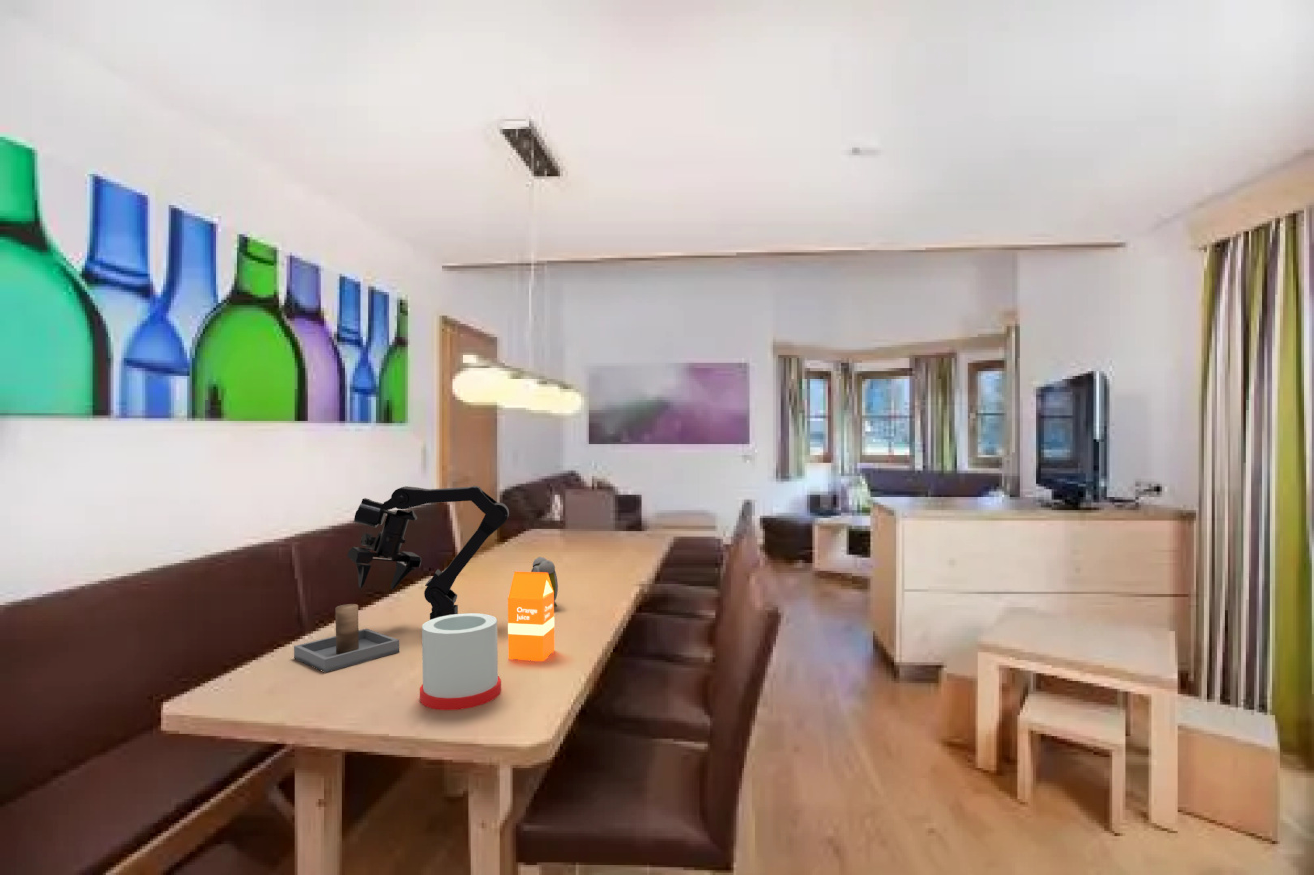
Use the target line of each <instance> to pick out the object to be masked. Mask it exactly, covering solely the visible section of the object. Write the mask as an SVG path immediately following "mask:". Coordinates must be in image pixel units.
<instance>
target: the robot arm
mask: <svg viewBox="0 0 1314 875" xmlns="http://www.w3.org/2000/svg"><path fill="white" fill-rule="evenodd" d="M470 501H471V503H473V504H474V505H475V506H476V507H477V508H478V509H479V511H481V512H482V513H483V514H484V516H483V518H482V520H481V522H480V524H479V526H478V527H477V529H476V531H474V533H473V534H472V536H471V537H470V538H469V539H468V541H467V542H466V543H465V545H464V546H463V547H462V548H461V549H460V551H459V552H458V553H457V554H456V555H455V557H454V558H453V560H452V561H451V562H450V563H449V565H448V566H447V567H446V568H445V569H443V571H441V570H440V569H439V568H438V569H437V570H436V571H435V573H433V576H432V577H431V578H429V579H428V581H427V582H426V583H425V589H424V591H423V595H424V596H423V597H424V598H425V600H426V602H427V603H428V604H430V606H431V612H430V613H429V620H431V619H435V618H438V617H442V616H447V615H454V614H459V610H458V609H459V605H458V604H455V603H456V601H457V599H458V594H457V593H456V592H454V591H453V590H452V589H451V588H452V587H453V585H454V583H455V581H456V579H457V578H458V576H459V574H460V573H461V572H462V570H463V569H464V568H465V567H466V566H467V564H468V563H469V562H470V561H471V559H472V558H474V556H475V554H476V553H477V552H478V550H479V549H480V548H481V547H482V546H483V544H484V543H485V541H486V540H487V539H488V538H489V537H490V536H491V535H492V534H493V533H495V532H496V531H497V530H498V529H499V528H500V527H502V526H503V525H504V524H505V523H506V521H508V518H509V516H510V511H509V507H508V506H507V505H506V504H505V503H503V502H498V501H497V500H496V499H495V498H493V497H492V496H491V495H489V494H487V493H486V492H485V491H484V490H483V489H482V488H481V487H480V486H478V485H472V486H466V487H465V486H464V487H463V486H462V487H460V486H459V487H447V488H445V487H444V488H443V487H442V488H422V487H415V486H402V487H399V488H396V489H395V490H393V492H392V493H391V496H390V498H389V499H388V500H386V501H383V503H381V502H378V501H374V500H372V499H370V498H366V497H364V498H362V500H361V503H360V504H359V506H358V507H357V510H356V511H355V515H354V518H353V522H354V523H356V524H359V525H363V526H368V527H372V528H377V527H378V526H379V525H380V526H382V525H383V523H384V525H383V527H382V531H379V532H378V533H377V536H376V537H375V536H373V534H372V533H368V532H367V533H363V534H362V536H361V539H360V545H361V546H365V547H359V546H357V547H356V546H352V547H351V548H349V550H348V552H347V556H346V557H347V558H349V559H350V560H351V561H352V562H353V563H355V565H356V569H357V579H358V581H357V582H358V587H359V588H360V589H362V588H364V586H365V582H366V581H367V577H368V575H369V573H370V570H371V568H372V564H370V563H372V562H373V561H385V562H386V561H387V562H395V571H394V574H393V578H392V580H391V585H390V589H391V590H395V588H396V587H397V586H399V584H400V583H401V582H402V581H403V580H404V579H405V577H406V576H407V575H409V574H410V572H411V571H415V570H416V568H421V564H422V558H421V556H419V555H418V554H416V553H414V552H412V551H405V550H404V551H400V550H401V546H402V545H403V544H405V543H406V539H405V538H404V537H405V534H406V530H407V527H408V524H409V521H413V522H414V521H416V520H417V519H418V516H417V515H416V513H415V510H414V509H412V508H415V507H419V506H423V505H427V504H436V503H437V504H440V503H441V504H442V503H455V502H456V503H457V502H470ZM410 508H411V510H410V511H405V510H407V509H410ZM393 509H397V511H393ZM370 550H371V551H370ZM372 551H373V552H372Z"/></svg>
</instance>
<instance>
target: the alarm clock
mask: <svg viewBox="0 0 1314 875" xmlns="http://www.w3.org/2000/svg"><path fill="white" fill-rule="evenodd" d="M532 562H533V563H532V568H531V571H530V572H544V573H548V575H549V578H550V582H551V585H552V588H553V591H554V607H557V606H558V605H557V604H558V603H556V599H557V596H558V593H559V592H558V590H559V588H558V587H559V584H558V575H557V572H556V567H555V564H554V563H553V561H551V560H548V559H547V558H545V557H541V556H538V557H537V558H535V559H534V560H533V561H532Z"/></svg>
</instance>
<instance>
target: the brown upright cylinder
mask: <svg viewBox="0 0 1314 875" xmlns="http://www.w3.org/2000/svg"><path fill="white" fill-rule="evenodd" d="M334 612H335V636H336V654H337V655H339V654H343V653H346V652H350V651H354V650H358V649H359V631H358V630H359V605H358V604H356V603H348V604H342V605H341V604H340V605H338V606H336V607H335V611H334Z"/></svg>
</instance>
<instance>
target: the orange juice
mask: <svg viewBox="0 0 1314 875" xmlns="http://www.w3.org/2000/svg"><path fill="white" fill-rule="evenodd" d="M510 585H511V586H510V589H509V592H508V597H507V637H508V641H507V642H508V645H507V646H508V650H507V651H508V660H513V659H518V660H517V661H530V660H531V662H544V661H545V660H546V659H547V658H549V657H550V656H551V655H552V654H554V652H555V606H554V591H553V588H552V585H551V582H550V578H549V575H548V573H544V572H531V571H514V573H513V577H512V581H511V584H510ZM553 651H554V652H553ZM551 653H552V654H551ZM550 654H551V655H550ZM549 655H550V656H549ZM548 656H549V657H548Z"/></svg>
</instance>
